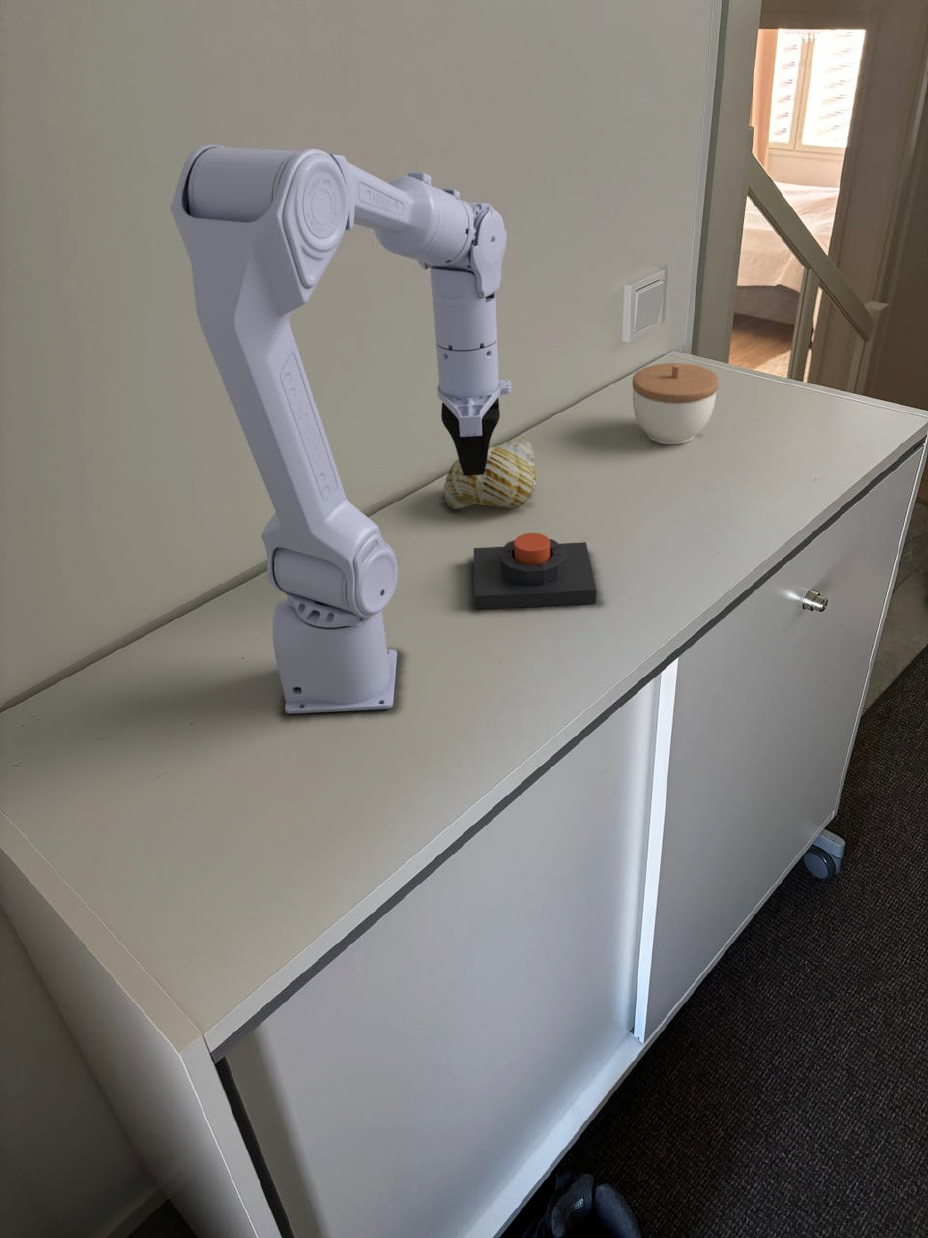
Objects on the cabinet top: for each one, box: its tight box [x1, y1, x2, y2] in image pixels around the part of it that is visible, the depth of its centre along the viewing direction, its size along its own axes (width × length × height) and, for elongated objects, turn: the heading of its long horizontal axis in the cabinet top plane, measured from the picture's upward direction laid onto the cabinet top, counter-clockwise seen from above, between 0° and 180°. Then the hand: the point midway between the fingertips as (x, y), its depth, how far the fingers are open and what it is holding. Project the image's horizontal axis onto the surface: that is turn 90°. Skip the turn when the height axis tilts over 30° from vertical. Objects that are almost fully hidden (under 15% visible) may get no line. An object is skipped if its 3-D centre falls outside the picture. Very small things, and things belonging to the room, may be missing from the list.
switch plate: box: [473, 538, 597, 611], centre depth 94 cm, size 12×9×4 cm
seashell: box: [443, 440, 537, 510], centre depth 108 cm, size 10×10×10 cm
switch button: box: [514, 532, 550, 565], centre depth 93 cm, size 4×4×2 cm
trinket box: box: [632, 362, 720, 445], centre depth 119 cm, size 11×11×9 cm
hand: (473, 472), depth 93 cm, fingers closed
